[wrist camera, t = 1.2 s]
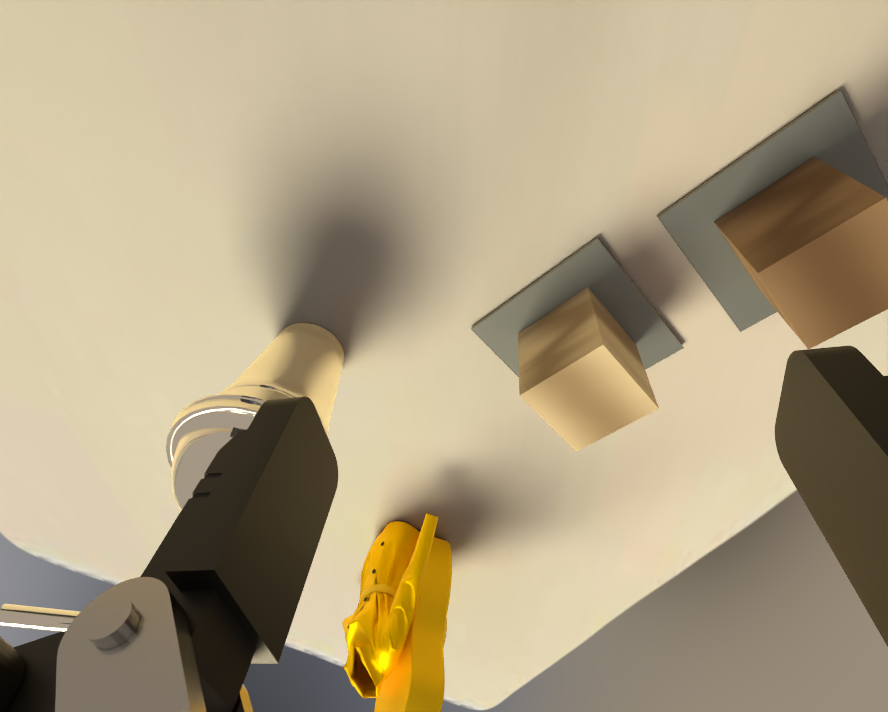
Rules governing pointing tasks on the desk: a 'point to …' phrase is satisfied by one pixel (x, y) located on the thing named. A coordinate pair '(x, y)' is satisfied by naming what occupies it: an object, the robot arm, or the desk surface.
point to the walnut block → (815, 249)
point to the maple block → (583, 371)
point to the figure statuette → (401, 620)
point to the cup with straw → (229, 425)
